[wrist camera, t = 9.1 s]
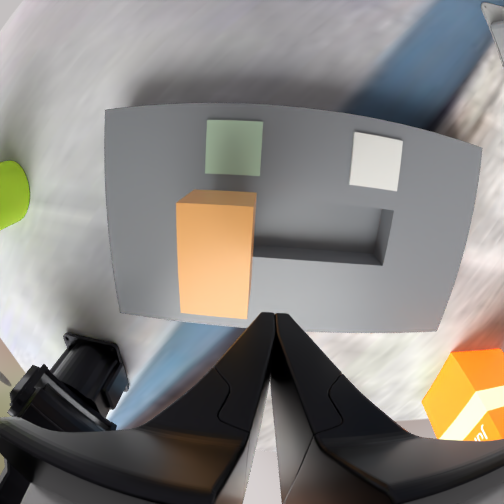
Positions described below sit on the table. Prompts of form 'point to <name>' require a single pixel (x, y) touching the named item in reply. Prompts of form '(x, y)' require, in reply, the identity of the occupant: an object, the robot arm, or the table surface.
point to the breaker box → (295, 211)
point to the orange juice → (468, 397)
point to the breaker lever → (215, 252)
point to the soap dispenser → (12, 193)
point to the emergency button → (495, 25)
